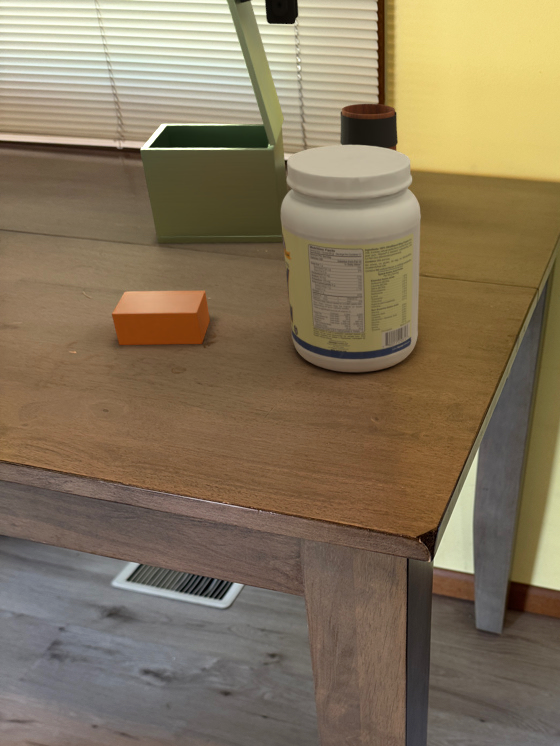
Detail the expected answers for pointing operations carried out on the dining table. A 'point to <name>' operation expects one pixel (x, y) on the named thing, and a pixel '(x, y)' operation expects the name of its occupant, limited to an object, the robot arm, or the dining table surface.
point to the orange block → (161, 317)
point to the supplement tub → (352, 256)
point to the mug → (369, 125)
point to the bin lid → (257, 67)
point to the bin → (215, 183)
